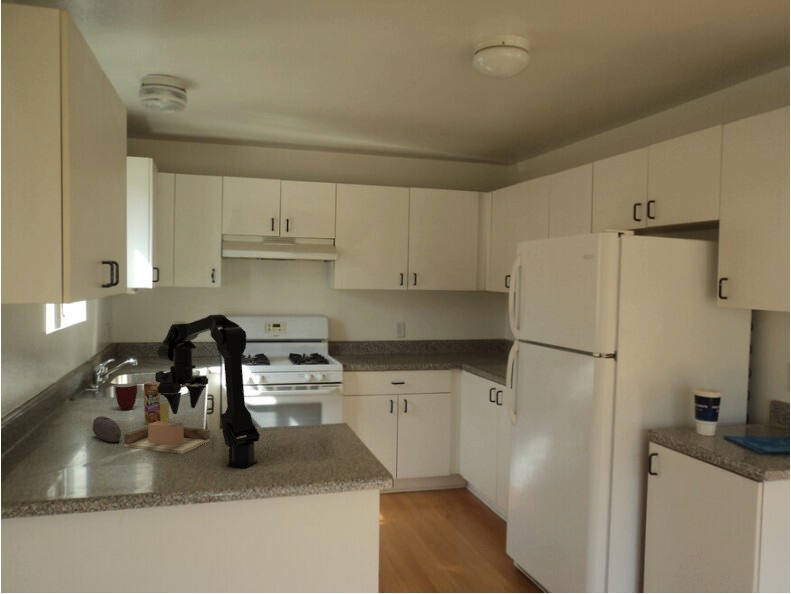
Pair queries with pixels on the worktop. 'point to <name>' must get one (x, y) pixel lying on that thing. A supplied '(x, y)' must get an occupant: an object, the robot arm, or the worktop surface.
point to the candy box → (155, 404)
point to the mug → (126, 395)
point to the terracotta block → (166, 433)
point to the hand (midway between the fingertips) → (184, 410)
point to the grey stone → (106, 429)
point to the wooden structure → (191, 441)
